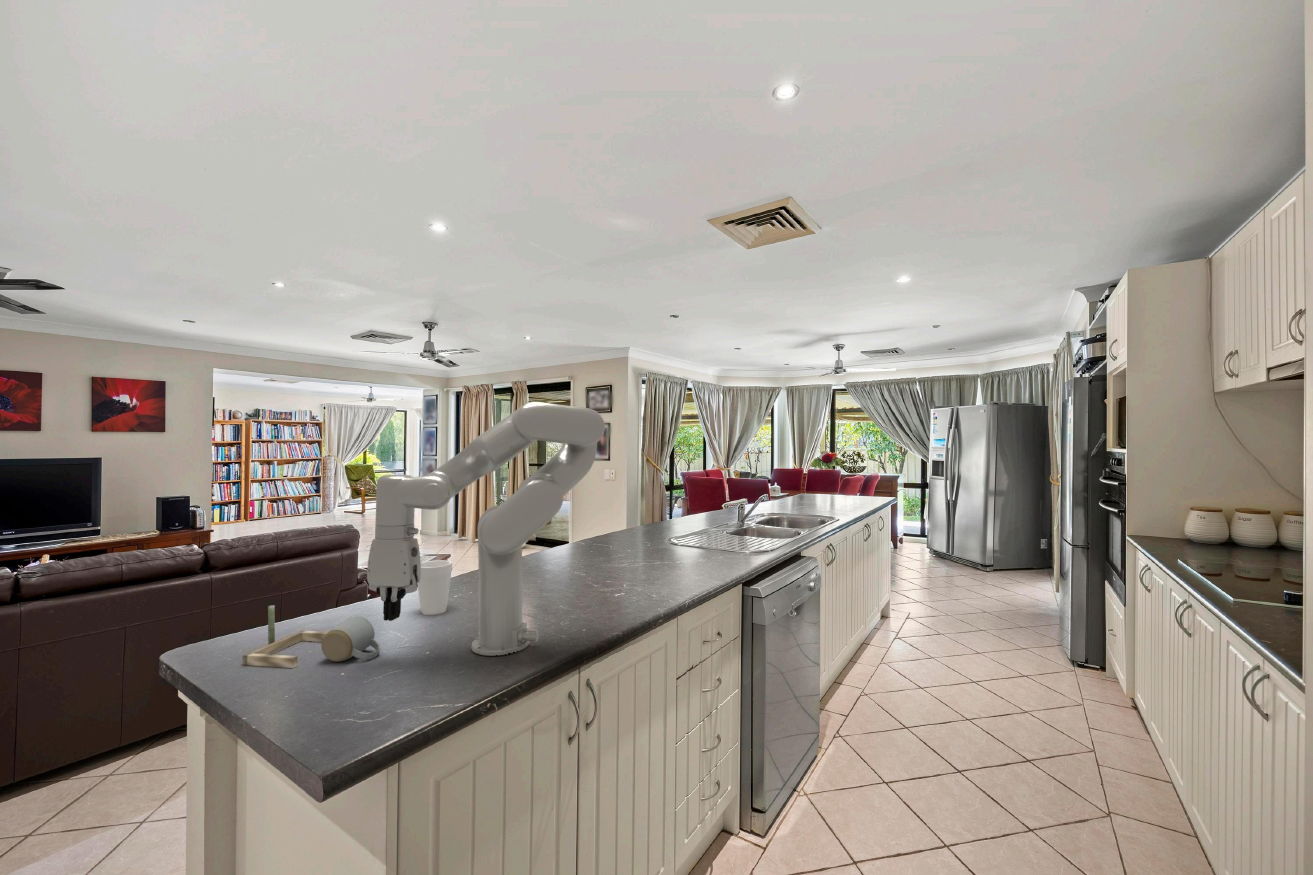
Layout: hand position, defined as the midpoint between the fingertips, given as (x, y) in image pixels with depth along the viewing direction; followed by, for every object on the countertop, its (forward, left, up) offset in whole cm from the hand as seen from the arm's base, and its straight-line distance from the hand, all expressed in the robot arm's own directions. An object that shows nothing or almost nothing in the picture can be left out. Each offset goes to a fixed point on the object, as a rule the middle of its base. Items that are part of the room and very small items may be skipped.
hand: (391, 618), depth 118 cm
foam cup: (+10, -32, -9) cm, 35 cm away
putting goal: (+23, 0, -9) cm, 25 cm away
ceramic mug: (+9, -1, -9) cm, 13 cm away
